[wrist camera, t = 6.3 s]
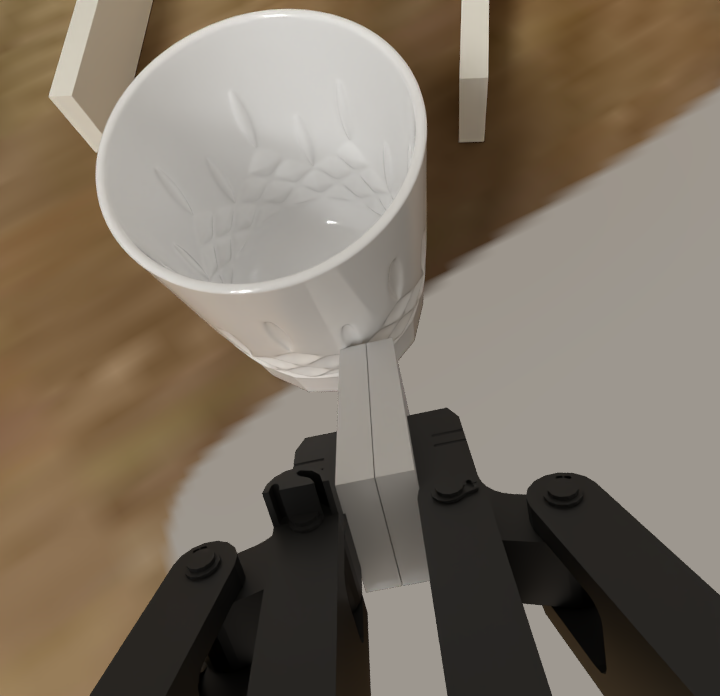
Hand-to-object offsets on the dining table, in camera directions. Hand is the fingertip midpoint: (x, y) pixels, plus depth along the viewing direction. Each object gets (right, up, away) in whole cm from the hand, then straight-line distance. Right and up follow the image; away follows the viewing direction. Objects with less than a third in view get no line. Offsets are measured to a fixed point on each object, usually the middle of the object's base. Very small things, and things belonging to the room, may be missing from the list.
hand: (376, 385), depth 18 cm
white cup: (-1, +2, +6) cm, 6 cm away
